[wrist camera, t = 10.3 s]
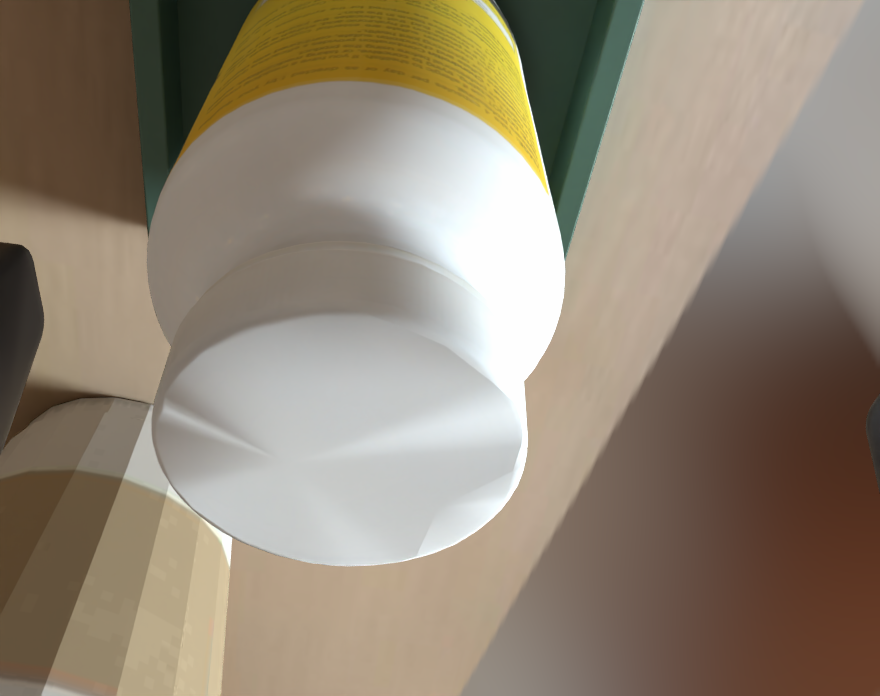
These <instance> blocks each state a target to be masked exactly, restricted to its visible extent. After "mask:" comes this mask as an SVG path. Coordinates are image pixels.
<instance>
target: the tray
mask: <svg viewBox="0 0 880 696" xmlns="http://www.w3.org/2000/svg"><path fill="white" fill-rule="evenodd" d="M256 1H257V0H129V5H130V17H131V30H132V42H133V55H134V67H135V80H136V92H137V105H138V117H139V130H140V142H141V155H142V167H143V179H144V192H145V204H146V217H147V229H148V238H149V231H150V226H151V221H152V218H153V215H154V212H155V208H156V205H157V202H158V199H159V196H160V192H161V190H162V188H163V186H164V184H165V182H166V180H167V178H168V176H169V174H170V172H171V170H172V168H173V166H174V164H175V163H176V161H177V158H178V156H179V154H180V152H181V150H182V148H183V145H184V143H185V141H186V139H187V137H188V135H189V133H190V131H191V129H192V127H193V125H194V123H195V121H196V119H197V117H198V115H199V113H200V111H201V109H202V106H203V104H204V102H205V100H206V98H207V96H208V94H209V92H210V90H211V88H212V86H213V84H214V82H215V80H216V78H217V76H218V74H219V72H220V70H221V68H222V66H223V64H224V62H225V60H226V58H227V56H228V54H229V52H230V50H231V48H232V46H233V44H234V42H235V40H236V38H237V36H238V34H239V32H240V30H241V28H242V26H243V24H244V22H245V20H246V18H247V17H248V15H249V13H250V11H251V9H252V7H253V6H254V4H255V3H256ZM494 1H495V2H496V4H497V6H498V7H499V9H500V10H501V12H502V13H503V15H504V17H505V19H506V20H507V22H508V24H509V27H510V29H511V31H512V33H513V36H514V39H515V42H516V45H517V48H518V51H519V55H520V59H521V64H522V69H523V74H524V80H525V85H526V90H527V95H528V99H529V103H530V107H531V112H532V116H533V120H534V124H535V128H536V133H537V137H538V141H539V145H540V150H541V154H542V158H543V163H544V167H545V171H546V176H547V180H548V184H549V189H550V193H551V197H552V201H553V205H554V209H555V213H556V218H557V222H558V226H559V230H560V234H561V240H562V246H563V252H564V263H565V260H566V256H567V253H568V250H569V247H570V243H571V240H572V237H573V233H574V230H575V227H576V224H577V220H578V217H579V214H580V210H581V207H582V204H583V201H584V197H585V194H586V191H587V188H588V184H589V181H590V178H591V174H592V171H593V168H594V165H595V161H596V158H597V155H598V152H599V148H600V145H601V142H602V138H603V135H604V132H605V129H606V125H607V122H608V119H609V115H610V112H611V109H612V106H613V102H614V99H615V96H616V93H617V89H618V86H619V83H620V79H621V76H622V73H623V70H624V66H625V63H626V60H627V56H628V53H629V50H630V47H631V43H632V40H633V37H634V34H635V30H636V27H637V24H638V20H639V17H640V14H641V11H642V7H643V4H644V1H645V0H494Z"/></svg>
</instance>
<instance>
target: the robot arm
mask: <svg viewBox="0 0 880 696" xmlns="http://www.w3.org/2000/svg"><path fill="white" fill-rule="evenodd" d="M43 328H44V312H43V307H42V302H41V297H40V292H39V287H38V282H37V277H36V272H35V267H34V262H33V258H32V256H31V254H30V252H29V250H28V249H26V248H25V247H24V246H22V245H18V244H11V243H3V242H0V455H1V453H2V450H3V447H4V445H5V442H6V439H7V436H8V433H9V430H10V427H11V424H12V421H13V419H14V416H15V413H16V410H17V407H18V404H19V401H20V398H21V395H22V392H23V390H24V387H25V384H26V381H27V378H28V375H29V372H30V369H31V366H32V363H33V361H34V358H35V355H36V352H37V349H38V346H39V343H40V340H41V337H42V333H43ZM866 433H867V438H868V442H869V447H870V451H871V456H872V460H873V465H874V469H875V474H876V478H877V483H878V487H879V492H880V394H879V396H878V397H877V398H876V400H875V401H874V403H873V404H872V406H871V408H870V410H869V412H868V415H867V419H866Z"/></svg>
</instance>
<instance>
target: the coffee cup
mask: <svg viewBox="0 0 880 696" xmlns="http://www.w3.org/2000/svg"><path fill="white" fill-rule="evenodd" d="M152 412H153V405H151V404H146V403H141V402H136V401H131V400H126V399H121V398H81V399H77V400H74V401H70V402H67V403H63V404H60V405H57V406H53V407H51V408H50V409H48V410H47V411H45V412H44V413H43V414H41V415H40V416H39V417H37V418H36V419H34V420H33V421H32V422H31V423H30V424H29V425H28V427H27V428H26V429H24V430H23V431H22V432H20V433H19V434H17V435H16V436H15V437H13V438H12V439H11V440H10V441H9V443H8V444H7V445H6V446H5V448H4V449H3V450H2V453H1V455H0V696H221V685H222V671H223V657H224V643H225V629H226V615H227V601H228V588H229V574H230V560H231V546H232V537H230V536H228V535H227V534H225V533H223V532H221V531H220V530H218V529H217V528H215V527H214V526H212V525H211V524H209V523H208V522H207V521H205V520H204V519H203V518H201V517H200V516H199V515H198V514H197V513H196V512H194V511H193V510H192V509H191V508H190V507H189V506H188V505H187V504H186V503H185V502H184V501H183V500H182V499H181V498H180V497H179V495H178V494H177V493H176V492H175V490H174V489H173V488H172V486H171V485H170V483H169V481H168V479H167V478H166V476H165V475H164V473H163V471H162V469H161V467H160V465H159V463H158V460H157V456H156V453H155V449H154V446H153V441H152V424H151V419H152Z"/></svg>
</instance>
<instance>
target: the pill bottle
mask: <svg viewBox="0 0 880 696" xmlns="http://www.w3.org/2000/svg"><path fill="white" fill-rule="evenodd" d="M147 271H148V282H149V288H150V294H151V298H152V302H153V306H154V309H155V312H156V316H157V319H158V321H159V324H160V326H161V328H162V331H163V333H164V335H165V337H166V339H167V341H168V342H169V344H170V346H171V349H170V352H169V355H168V359H167V362H166V365H165V368H164V371H163V374H162V377H161V380H160V384H159V387H158V390H157V393H156V396H155V399H154V405H153V412H152V419H151V424H152V441H153V446H154V449H155V453H156V456H157V460H158V463H159V465H160V467H161V469H162V471H163V473H164V475H165V476H166V478H167V479H168V481H169V483H170V485H171V486H172V488H173V489H174V490H175V492H176V493H177V494H178V495H179V497H180V498H181V499H182V500H183V501H184V502H185V503H186V504H187V505H188V506H189V507H190V508H191V509H192V510H193V511H194V512H196V513H197V514H198V515H199V516H200V517H201V518H203V519H204V520H205V521H207V522H208V523H209V524H211V525H212V526H214V527H215V528H217V529H218V530H220V531H221V532H223V533H225V534H227V535H228V536H230V537H232V538H234V539H236V540H238V541H240V542H242V543H245V544H247V545H250V546H252V547H255V548H258V549H260V550H263V551H266V552H268V553H271V554H274V555H277V556H281V557H286V558H290V559H294V560H299V561H304V562H309V563H315V564H322V565H333V566H369V565H380V564H389V563H397V562H402V561H406V560H410V559H415V558H419V557H422V556H426V555H429V554H433V553H436V552H438V551H440V550H442V549H445V548H447V547H450V546H452V545H454V544H456V543H458V542H460V541H461V540H463V539H465V538H466V537H468V536H470V535H471V534H473V533H475V532H476V531H477V530H479V529H480V528H481V527H482V526H483V525H485V524H486V523H487V522H488V521H489V520H491V519H492V518H493V517H494V516H495V515H496V514H497V513H498V512H499V511H500V510H501V509H502V508H503V506H504V505H505V504H506V503H507V501H508V500H509V499H510V497H511V495H512V494H513V492H514V490H515V489H516V487H517V485H518V483H519V480H520V478H521V475H522V472H523V470H524V465H525V460H526V455H527V442H528V435H527V420H526V405H525V390H524V380H525V379H526V378H527V377H528V376H529V375H530V373H531V372H532V371H533V370H534V368H535V366H536V365H537V363H538V362H539V360H540V358H541V357H542V355H543V354H544V352H545V350H546V348H547V346H548V344H549V343H550V340H551V338H552V336H553V333H554V331H555V328H556V325H557V322H558V319H559V316H560V312H561V306H562V301H563V296H564V281H565V264H564V252H563V246H562V240H561V234H560V230H559V226H558V222H557V218H556V213H555V209H554V205H553V201H552V197H551V193H550V189H549V184H548V180H547V176H546V171H545V167H544V163H543V158H542V154H541V150H540V145H539V141H538V137H537V133H536V128H535V124H534V120H533V116H532V112H531V107H530V103H529V99H528V95H527V90H526V85H525V80H524V74H523V69H522V64H521V59H520V55H519V51H518V48H517V45H516V42H515V39H514V36H513V33H512V31H511V29H510V27H509V24H508V22H507V20H506V19H505V17H504V15H503V13H502V12H501V10H500V9H499V7H498V6H497V4H496V2H495V1H494V0H257V1H256V3H255V4H254V6H253V7H252V9H251V11H250V13H249V15H248V17H247V18H246V20H245V22H244V24H243V26H242V28H241V30H240V32H239V34H238V36H237V38H236V40H235V42H234V44H233V46H232V48H231V50H230V52H229V54H228V56H227V58H226V60H225V62H224V64H223V66H222V68H221V70H220V72H219V74H218V76H217V78H216V80H215V82H214V84H213V86H212V88H211V90H210V92H209V94H208V96H207V98H206V100H205V102H204V104H203V106H202V109H201V111H200V113H199V115H198V117H197V119H196V121H195V123H194V125H193V127H192V129H191V131H190V133H189V135H188V137H187V139H186V141H185V143H184V145H183V148H182V150H181V152H180V154H179V156H178V158H177V161H176V163H175V164H174V166H173V168H172V170H171V172H170V174H169V176H168V178H167V180H166V182H165V184H164V186H163V188H162V190H161V192H160V196H159V199H158V202H157V205H156V208H155V212H154V215H153V218H152V221H151V226H150V231H149V238H148V247H147Z"/></svg>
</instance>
